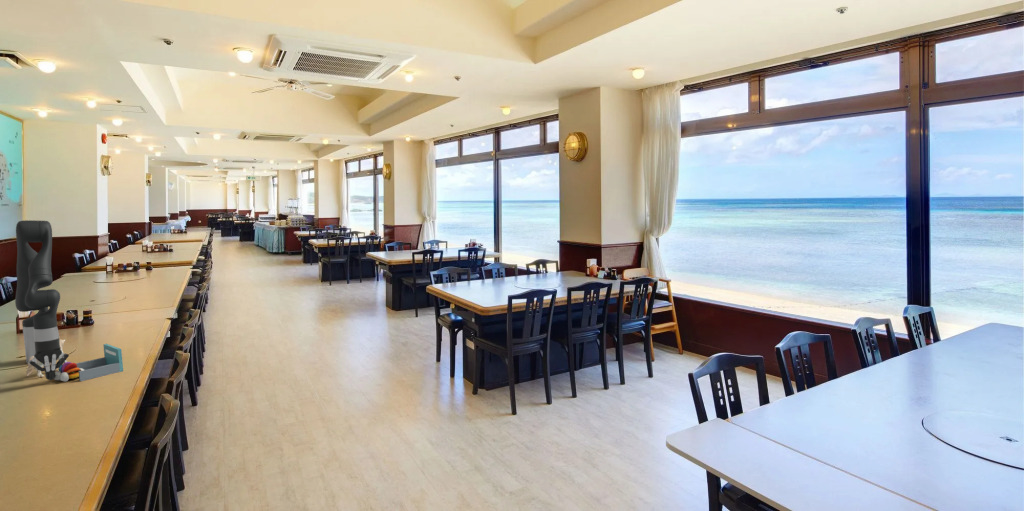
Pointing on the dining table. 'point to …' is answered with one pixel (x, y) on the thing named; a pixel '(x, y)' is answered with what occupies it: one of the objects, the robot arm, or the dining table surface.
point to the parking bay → (102, 364)
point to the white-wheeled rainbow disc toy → (67, 371)
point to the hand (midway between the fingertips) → (50, 379)
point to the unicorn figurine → (31, 368)
